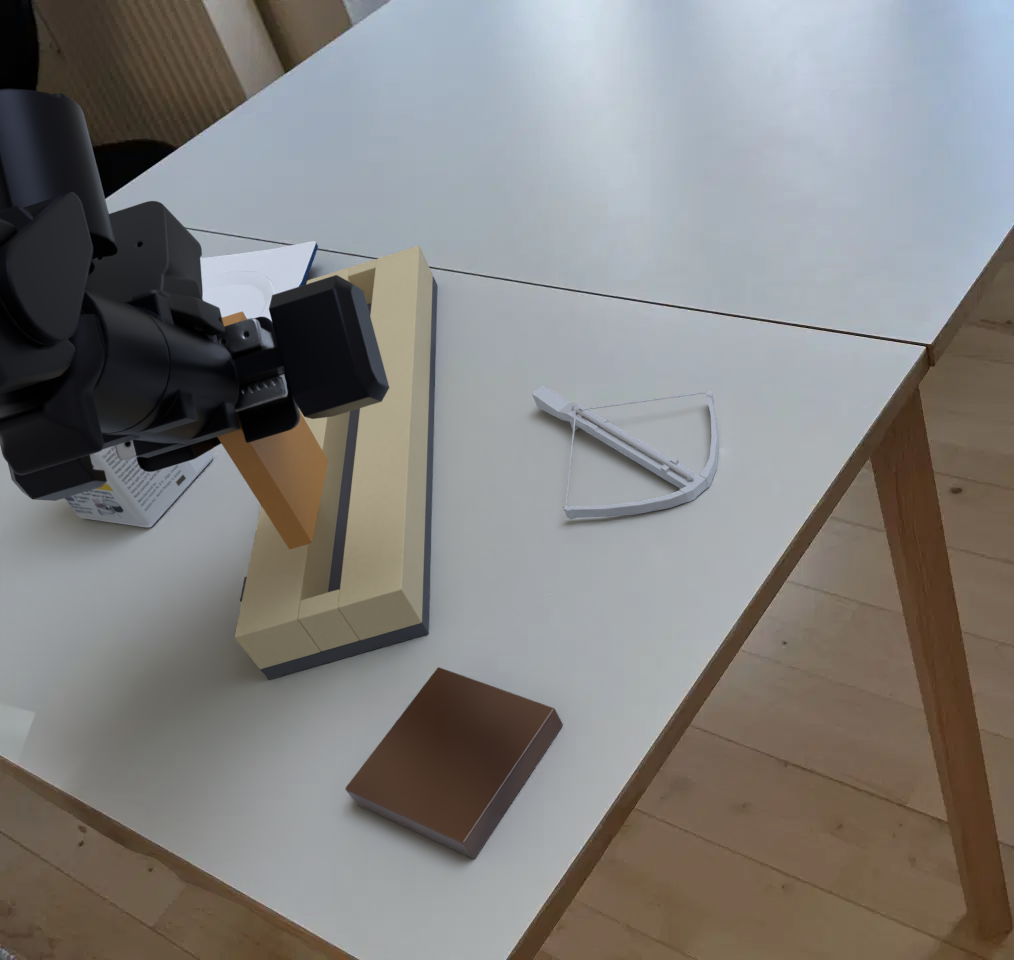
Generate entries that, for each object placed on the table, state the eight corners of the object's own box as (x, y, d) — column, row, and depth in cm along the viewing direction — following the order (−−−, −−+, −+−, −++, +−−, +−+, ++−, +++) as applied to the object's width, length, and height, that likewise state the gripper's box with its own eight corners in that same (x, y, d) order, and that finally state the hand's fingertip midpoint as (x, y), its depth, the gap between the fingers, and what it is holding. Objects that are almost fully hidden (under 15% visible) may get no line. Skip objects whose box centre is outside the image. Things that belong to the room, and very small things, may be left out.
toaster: (429, 634, 64) (401, 589, 61) (255, 683, 65) (220, 641, 62) (437, 284, 94) (419, 245, 92) (319, 321, 95) (297, 283, 92)
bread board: (474, 860, 52) (463, 843, 51) (356, 804, 56) (343, 788, 55) (564, 724, 57) (554, 707, 56) (448, 682, 61) (438, 666, 60)
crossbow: (774, 441, 69) (769, 417, 68) (629, 566, 65) (621, 543, 63) (609, 354, 79) (602, 331, 78) (473, 457, 75) (463, 435, 73)
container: (79, 520, 82) (-35, 385, 74) (146, 449, 87) (46, 316, 79) (151, 530, 79) (40, 390, 71) (217, 456, 84) (120, 317, 75)
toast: (312, 543, 62) (214, 386, 55) (289, 550, 62) (188, 394, 56) (328, 460, 68) (242, 310, 62) (307, 466, 69) (219, 317, 62)
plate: (242, 400, 89) (225, 374, 87) (48, 415, 96) (29, 391, 94) (343, 258, 103) (330, 233, 101) (168, 280, 110) (153, 257, 108)
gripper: (263, 124, 47) (383, 228, 63) (-132, 254, 49) (80, 323, 64) (329, 373, 46) (434, 415, 62) (-76, 497, 48) (126, 508, 63)
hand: (265, 410), depth 63 cm, fingers closed on toast, 1 cm apart
